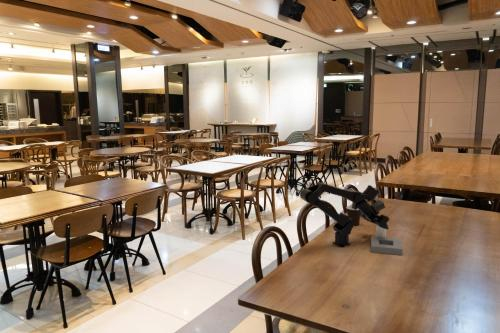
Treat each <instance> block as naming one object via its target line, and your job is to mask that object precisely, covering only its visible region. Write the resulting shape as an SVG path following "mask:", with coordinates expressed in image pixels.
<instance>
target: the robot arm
mask: <svg viewBox="0 0 500 333" xmlns="http://www.w3.org/2000/svg"><path fill="white" fill-rule="evenodd" d="M324 193H327V194H331V195H334V196H338V197H342V198H344V199H346V200H347V201H350V202H352V204H351V206H352V208H353V209H355V210H356V209H357V208H358V209H359V210H360V211H361V213H360V218H362V219H363V220H365V221H367V222H369V223H372V224H374V225H375V226H376V225H377V226H379V227H381V228H384V229H386V231H387V230H389V225H388V224H387V223H388V222H389V221H390V217H389V216H388V215H385V214H380V213H381V212H380V211H383V209H385V208H386V205H385V203H384V201H382V200H378V199H377V200H376V198H378V196H379V195H380V191H379V190H377V189H376V188H375V187H374V186H372V185H370V184H368V185H367V187H366V188H365V189H364V190H363V191H362V192H361V191H358V190H355V189H351V188H350V189H349V188H341V187H337V186H333V185H330V184H327V183H324V182H321V181H320V182H318V183H317V184H314V185H311V186H308V187H307V188H303V189H302V190H300V192H299V198H300V199H302V200H303V201H305V202H306V203H307V204H310V205H311V206H314V207H316V208H317V209H319V210H320V211H321V212H323V213H324V214H325V215H326V216H328V217H329V218H331V219H332V220H333V222H334V225H333V226H332V229H333V231H335V232H334V241H333V242H332V244H334V245H336V246H338V247H340V248H343V247H347V246H350V245H351V242H349V241H350V240H349V237H350V235H351V233H352V230H353V228H354V227H355V226H354V223H353V221H351V220H352V219H351V218H349V217H348V216H347V214H345V213H343V212H340V213H338V212H337V211H335V210H334V209H333V208H331V207H330V206H329V205H327V204H326V203H324V201H322V200H321V199H320V197H321V196H322V195H323V194H324ZM369 202H370V203H369ZM379 214H380V215H379ZM376 219H377V220H376Z"/></svg>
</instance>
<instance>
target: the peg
mask: <svg viewBox="0 0 500 333" xmlns="http://www.w3.org/2000/svg"><path fill="white" fill-rule="evenodd" d="M376 220H377V219H376ZM375 237H384V238H387V229H384V228H381V227H379V226H377V225H376V224H375Z"/></svg>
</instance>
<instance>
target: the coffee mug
mask: <svg viewBox="0 0 500 333" xmlns="http://www.w3.org/2000/svg"><path fill="white" fill-rule="evenodd" d="M345 208H346V215H347V216H348V217H349V218H351V219H352V220H351V221H353V223H354V226H353V227H357V226H359V225H360V221H361V216H360V213H361V211H360V210H359V209H358V208H357V209H356V210H355V209H353V208H352V205H348V206H346V207H345Z"/></svg>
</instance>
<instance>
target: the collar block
mask: <svg viewBox="0 0 500 333" xmlns="http://www.w3.org/2000/svg"><path fill="white" fill-rule="evenodd" d="M370 252H371V253H375V254H385V255H393V256H394V255H396V256H397V255H398V256H403V245H402V239H401V238H394V237H386V238H384V237H376V236H371V237H370Z"/></svg>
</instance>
